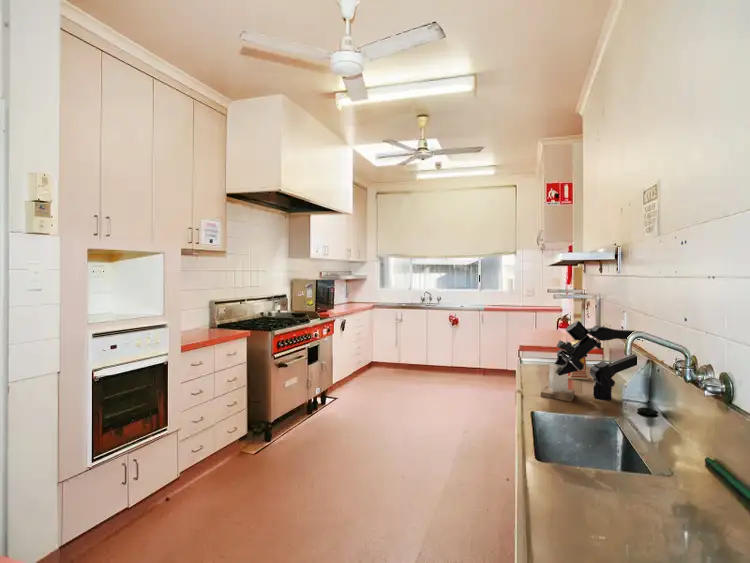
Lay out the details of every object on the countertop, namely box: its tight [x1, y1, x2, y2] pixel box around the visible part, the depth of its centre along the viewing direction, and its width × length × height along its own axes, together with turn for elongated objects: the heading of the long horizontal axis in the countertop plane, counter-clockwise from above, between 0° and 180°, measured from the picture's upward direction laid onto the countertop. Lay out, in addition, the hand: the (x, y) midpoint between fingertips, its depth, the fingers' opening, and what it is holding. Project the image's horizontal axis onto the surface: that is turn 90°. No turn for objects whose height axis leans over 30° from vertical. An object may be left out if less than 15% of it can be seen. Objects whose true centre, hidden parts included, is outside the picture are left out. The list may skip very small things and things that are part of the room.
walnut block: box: [540, 385, 576, 402], centre depth 192 cm, size 12×12×2 cm
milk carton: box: [568, 339, 589, 380], centre depth 228 cm, size 9×9×20 cm
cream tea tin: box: [548, 363, 569, 393], centre depth 192 cm, size 6×6×11 cm
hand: (555, 372), depth 192 cm, fingers open, 9 cm apart
